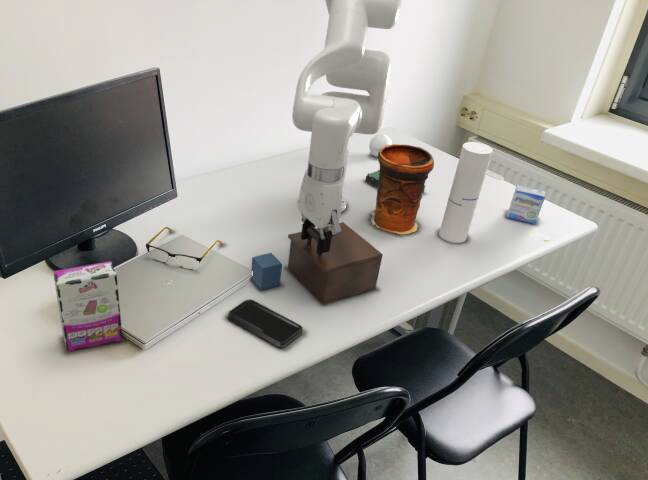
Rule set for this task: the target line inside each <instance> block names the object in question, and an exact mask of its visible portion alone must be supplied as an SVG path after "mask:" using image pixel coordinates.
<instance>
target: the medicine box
mask: <svg viewBox="0 0 648 480" xmlns="http://www.w3.org/2000/svg"><path fill="white" fill-rule="evenodd" d="M546 194H547V193H546V191H545V190H541V189H536V188H531V187H528V186H523V185H519V184H516V186H515V189H514V192H513V195H512V198H511V201H510V204H509V207H508V210H507V214H506V218H507V219H509V220H514V221H519V222H524V223H528V224H533V225H535V224H536V223H537V220H538V218H539V215H540V212H541V211H542V210H541V209H542V207H543V205H544V202H545V199H546Z"/></svg>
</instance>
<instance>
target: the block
mask: <svg viewBox="0 0 648 480" xmlns="http://www.w3.org/2000/svg"><path fill="white" fill-rule="evenodd" d="M251 259H252V260H251V268H250V271H251V270H252V271H253V276H252V277H251V276H250V280H251V281H252V282H253V283H254V284H255V286H257V288H258V289H259V290H260V291H263V290H268V289H271V288H274V287H278V286H281V278H282V270H283V269H282V267H283V263H282V262H281V261H280V259H278V257H276V256H275V254H273V253H272V252H268V253H264V254H259V255H256V256H252V257H251Z"/></svg>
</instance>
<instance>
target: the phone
mask: <svg viewBox="0 0 648 480" xmlns="http://www.w3.org/2000/svg"><path fill="white" fill-rule="evenodd" d="M227 315H228V316H227V319H228V320H229V321H231V322H233V323H234V324H236V325H237V326H240V327H242V328H243V329H245V330H247V331H249V332H251V333H252V334H253V335H256V336H257V337H260V338H262V339H263V340H264V341H267V342H268V343H270V344H271V345H274V346H275V347H277V348H281V349H283V348H285V347H287V346H288V345H290V344H291V343H292V342H293V341H294V340H296V339H297V338H298V337H299V336H301V335H302V333H303V326H302V325H301V324H299V323H297V322H295V321H293V320H291V319H289V318H287V317H286V316H284V315H282V314H280V313H278V312H276V311H274V310H272V309H270V308H269V307H267V306H265V305H263V304H261V303H259V302H257V301H255V300H253V299H246V300H244V301H243V302H241V303H240V304H238V305H237V306H235V307H234V308H232V309H231V310H229V311H228V314H227Z"/></svg>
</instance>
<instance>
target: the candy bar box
mask: <svg viewBox="0 0 648 480" xmlns="http://www.w3.org/2000/svg"><path fill="white" fill-rule="evenodd" d="M52 275H53V281H54V286H55V293H56V300H57V306H58V312H59V318H60V324H61V325H60V326H61V330H62V338H63V341H64V345H65V349H66V352H67V353H71V352H72V353H73V352H75V351H80V350H85V349H90V348H94V347H95V348H96V347H99V346H102V345H107V344H108V345H109V344H112V343H117V342H122V341H123V329H122V327H123V326H122V319H121V317H122V316H121V306H120V295H119V285H118V274H117V272H116V269H115V268H114V266H113V263H112V261H104V262H99V263H93V264H86V265H81V266H76V267H75V266H74V267H70V268H65V269H59V270H54V271H53V272H52Z"/></svg>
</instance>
